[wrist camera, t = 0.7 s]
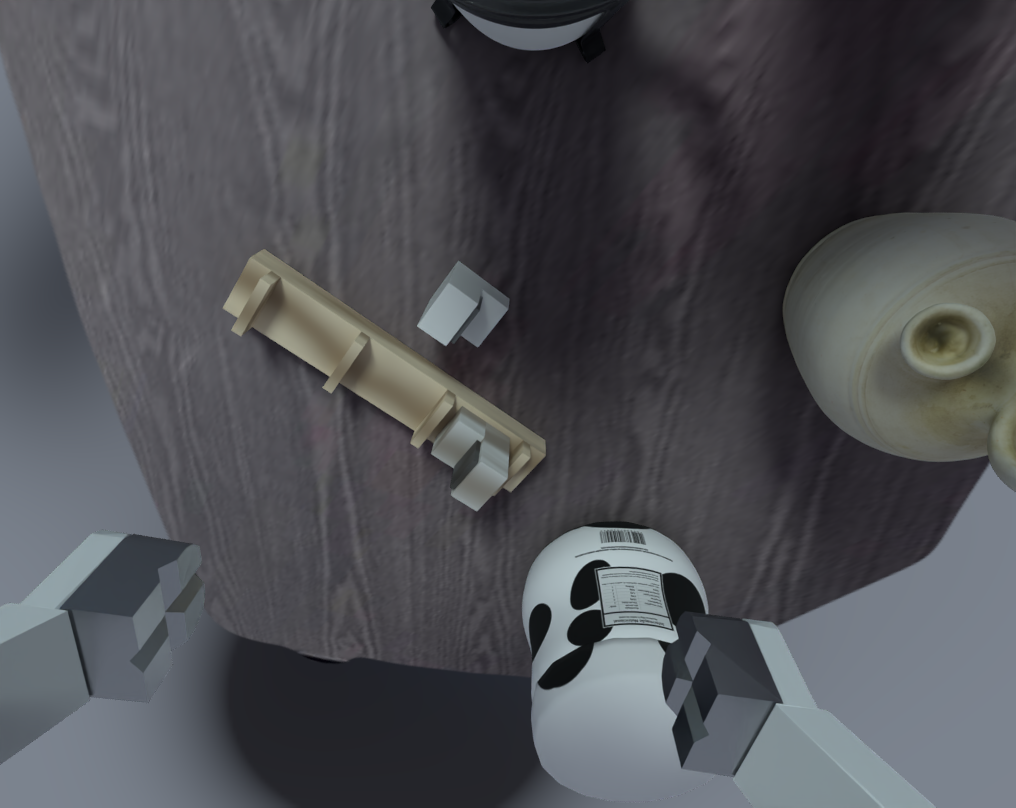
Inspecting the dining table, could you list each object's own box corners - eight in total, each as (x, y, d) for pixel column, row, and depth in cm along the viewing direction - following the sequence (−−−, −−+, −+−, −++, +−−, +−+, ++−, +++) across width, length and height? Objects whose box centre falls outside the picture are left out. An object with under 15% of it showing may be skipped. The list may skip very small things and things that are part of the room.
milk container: (582, 653, 66) (599, 832, 50) (488, 557, 59) (473, 726, 43) (723, 589, 60) (792, 766, 44) (636, 476, 54) (680, 634, 38)
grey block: (458, 260, 45) (448, 282, 40) (509, 298, 47) (506, 324, 41) (429, 300, 47) (417, 326, 42) (480, 335, 48) (473, 365, 43)
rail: (264, 249, 45) (211, 279, 38) (545, 440, 53) (547, 497, 45) (237, 298, 47) (181, 336, 40) (511, 476, 55) (508, 537, 47)
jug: (723, 278, 45) (906, 454, 23) (925, 144, 40) (1400, 204, 18) (809, 416, 51) (1025, 665, 29) (997, 312, 46) (1432, 515, 24)
